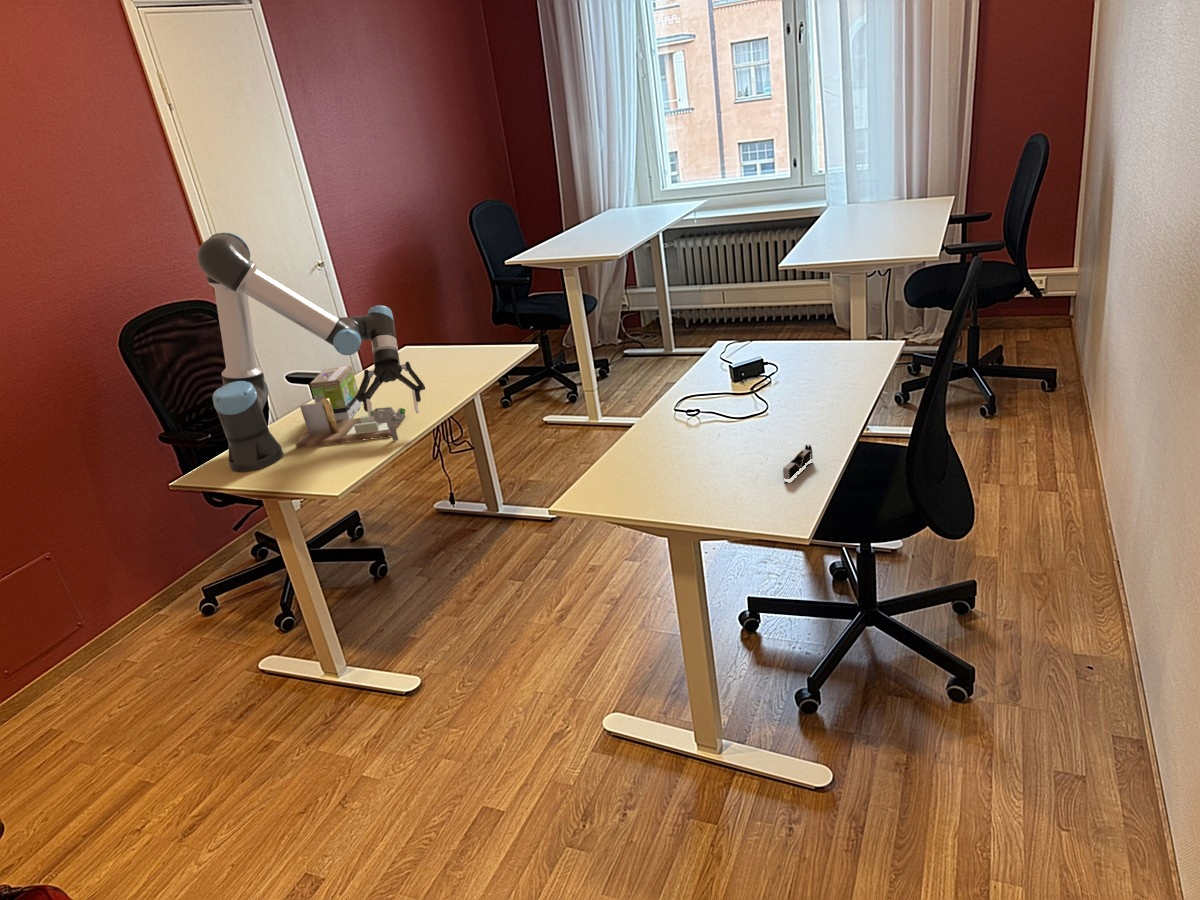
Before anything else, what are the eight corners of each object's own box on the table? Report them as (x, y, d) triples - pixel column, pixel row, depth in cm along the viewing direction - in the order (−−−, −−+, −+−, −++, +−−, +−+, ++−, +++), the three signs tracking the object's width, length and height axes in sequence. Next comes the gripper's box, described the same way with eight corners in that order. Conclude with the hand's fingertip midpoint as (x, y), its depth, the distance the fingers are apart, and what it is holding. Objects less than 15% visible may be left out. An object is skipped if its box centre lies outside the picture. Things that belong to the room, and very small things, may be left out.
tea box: (351, 421, 260) (338, 379, 254) (321, 426, 260) (307, 383, 254) (363, 405, 274) (351, 364, 268) (334, 409, 274) (322, 368, 268)
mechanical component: (409, 441, 237) (401, 409, 233) (377, 443, 239) (369, 412, 235) (413, 437, 239) (405, 406, 235) (382, 438, 242) (373, 408, 238)
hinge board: (297, 448, 245) (284, 410, 240) (315, 428, 259) (304, 391, 254) (391, 436, 242) (381, 398, 237) (405, 416, 257) (395, 380, 252)
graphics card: (807, 463, 188) (801, 444, 187) (817, 462, 186) (811, 443, 185) (784, 485, 180) (777, 465, 179) (794, 484, 178) (787, 464, 177)
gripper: (428, 351, 250) (438, 412, 242) (348, 366, 248) (355, 429, 240) (423, 339, 243) (433, 402, 235) (341, 355, 241) (348, 419, 233)
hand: (394, 416), depth 238 cm, fingers open, 13 cm apart
